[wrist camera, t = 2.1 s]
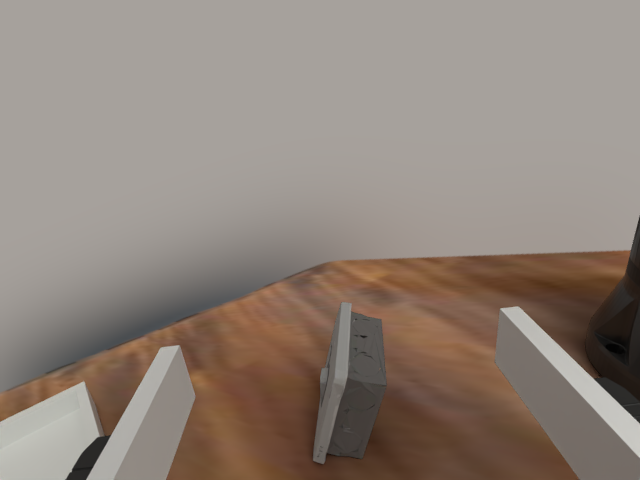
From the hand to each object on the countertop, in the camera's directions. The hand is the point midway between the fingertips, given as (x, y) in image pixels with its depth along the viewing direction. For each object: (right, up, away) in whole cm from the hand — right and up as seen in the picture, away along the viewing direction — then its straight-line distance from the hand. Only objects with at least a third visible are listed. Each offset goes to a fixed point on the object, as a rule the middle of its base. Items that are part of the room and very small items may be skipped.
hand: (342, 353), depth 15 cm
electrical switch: (+2, -11, +16) cm, 20 cm away
